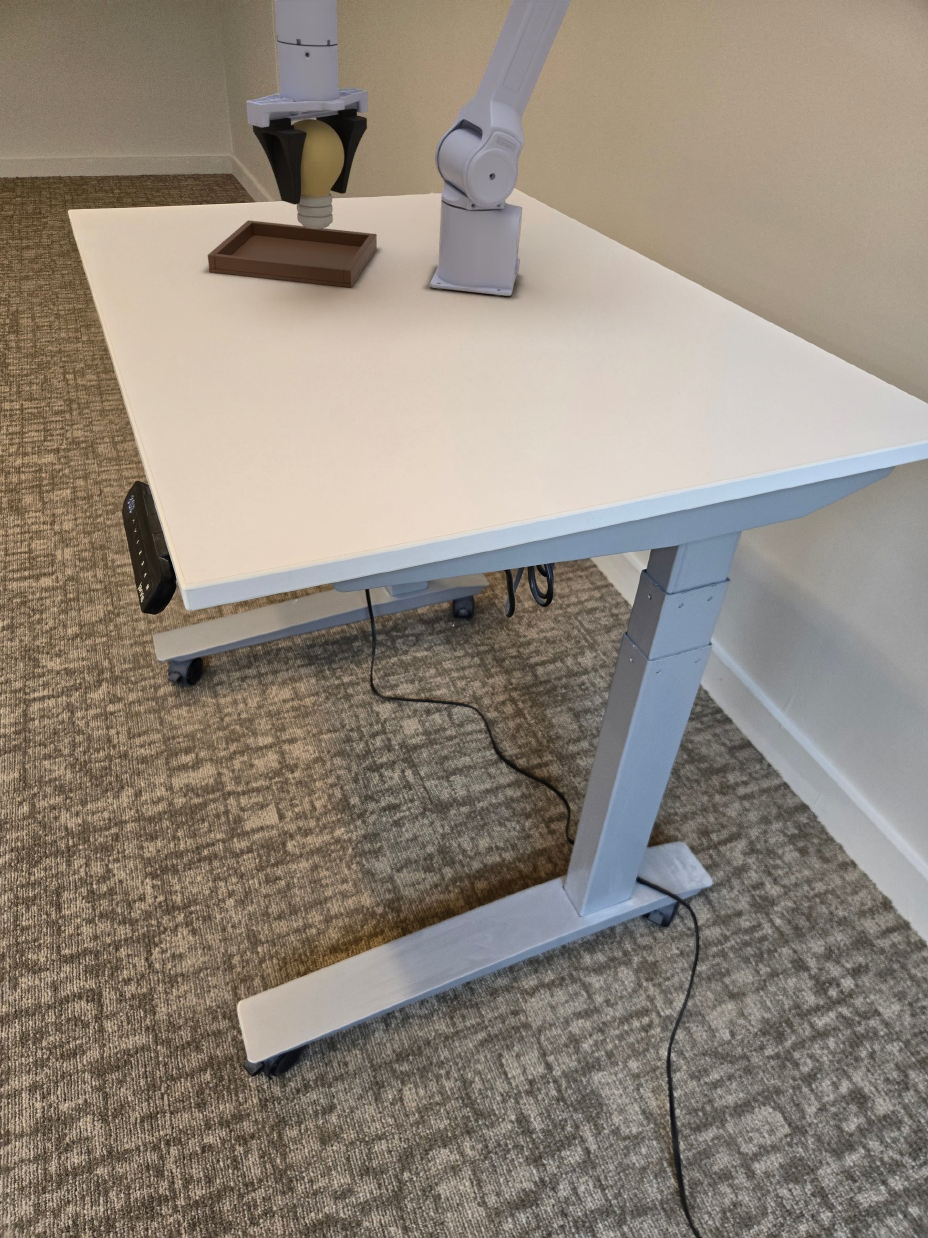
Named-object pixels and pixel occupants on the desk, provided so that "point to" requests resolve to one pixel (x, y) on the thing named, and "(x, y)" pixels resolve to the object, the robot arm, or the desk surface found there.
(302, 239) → the tray
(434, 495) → the desk surface
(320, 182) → the light bulb
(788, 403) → the desk surface
